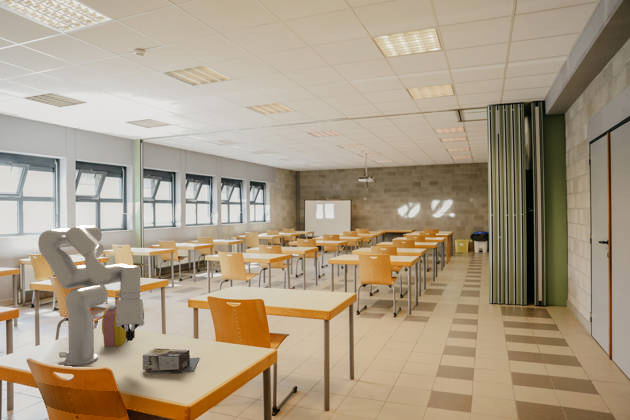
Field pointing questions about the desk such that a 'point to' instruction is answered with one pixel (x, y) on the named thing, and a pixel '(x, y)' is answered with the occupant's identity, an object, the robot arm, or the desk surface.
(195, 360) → the mat
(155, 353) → the coffee box
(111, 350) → the desk surface
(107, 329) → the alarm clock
